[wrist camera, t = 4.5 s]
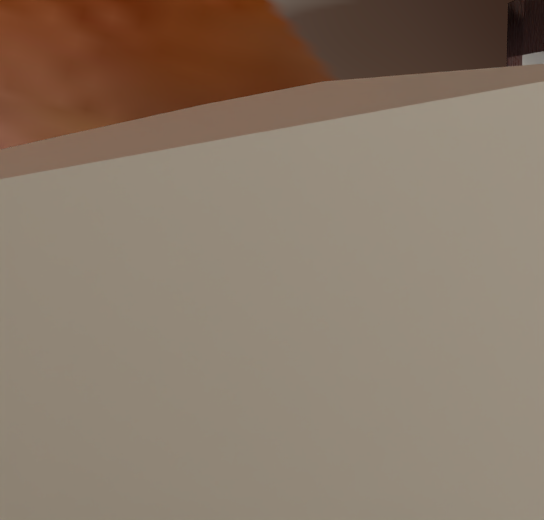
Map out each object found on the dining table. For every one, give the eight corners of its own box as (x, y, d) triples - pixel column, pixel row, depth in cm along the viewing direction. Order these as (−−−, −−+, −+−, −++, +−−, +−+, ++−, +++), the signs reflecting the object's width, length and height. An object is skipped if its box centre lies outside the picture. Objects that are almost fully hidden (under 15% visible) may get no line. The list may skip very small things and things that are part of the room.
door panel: (202, 104, 10) (-726, 311, 1) (323, 81, 10) (721, 49, 1) (282, 461, 15) (256, 1094, 5) (368, 454, 14) (495, 1120, 5)
